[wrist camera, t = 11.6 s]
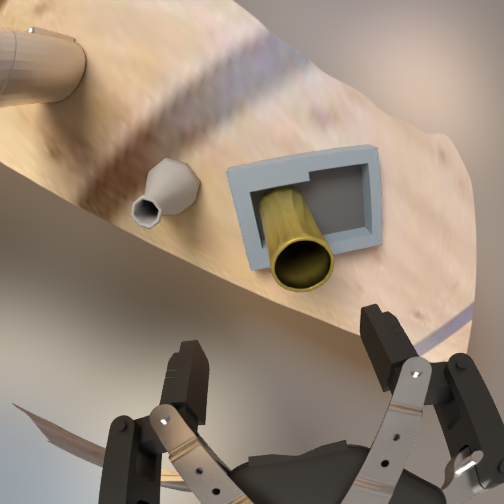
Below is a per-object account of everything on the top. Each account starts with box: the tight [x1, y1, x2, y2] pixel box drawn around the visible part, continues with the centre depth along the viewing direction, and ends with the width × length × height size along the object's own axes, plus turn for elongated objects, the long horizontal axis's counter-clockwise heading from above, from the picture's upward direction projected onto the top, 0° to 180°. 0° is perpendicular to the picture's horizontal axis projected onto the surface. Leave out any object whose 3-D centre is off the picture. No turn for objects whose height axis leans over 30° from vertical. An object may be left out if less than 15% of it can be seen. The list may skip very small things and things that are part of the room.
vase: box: [258, 186, 334, 292], centre depth 28 cm, size 6×6×14 cm
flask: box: [130, 158, 201, 229], centre depth 29 cm, size 7×7×10 cm
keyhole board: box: [226, 145, 382, 271], centre depth 33 cm, size 13×18×3 cm
